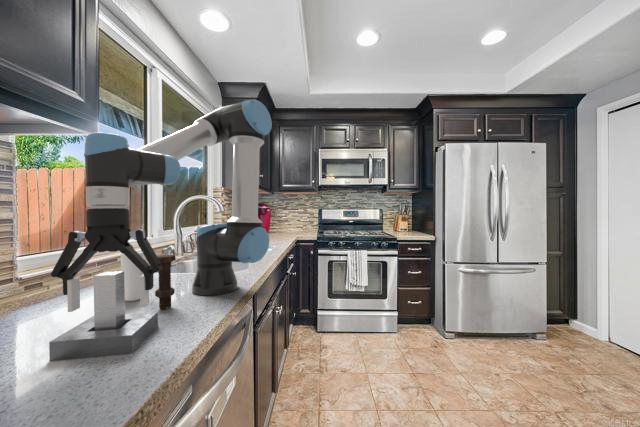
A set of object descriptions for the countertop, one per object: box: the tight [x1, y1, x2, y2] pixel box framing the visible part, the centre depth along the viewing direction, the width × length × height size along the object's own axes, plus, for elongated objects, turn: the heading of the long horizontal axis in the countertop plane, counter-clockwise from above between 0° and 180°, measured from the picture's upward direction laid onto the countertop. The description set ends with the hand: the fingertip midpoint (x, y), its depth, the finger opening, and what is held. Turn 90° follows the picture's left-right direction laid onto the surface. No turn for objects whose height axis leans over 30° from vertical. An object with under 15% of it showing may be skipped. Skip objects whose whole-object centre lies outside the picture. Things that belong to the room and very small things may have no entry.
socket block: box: [48, 311, 159, 362], centre depth 63 cm, size 14×14×4 cm
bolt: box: [154, 254, 176, 310], centre depth 85 cm, size 6×5×15 cm
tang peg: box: [93, 270, 126, 331], centre depth 63 cm, size 4×4×14 cm
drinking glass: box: [120, 250, 147, 302], centre depth 95 cm, size 7×7×15 cm
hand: (110, 307), depth 63 cm, fingers open, 13 cm apart
